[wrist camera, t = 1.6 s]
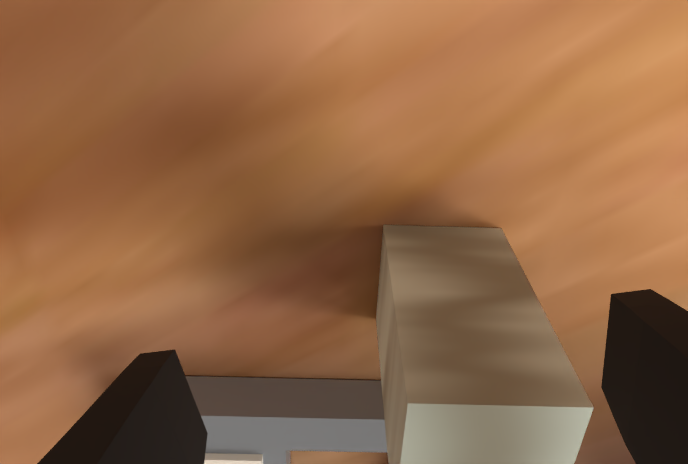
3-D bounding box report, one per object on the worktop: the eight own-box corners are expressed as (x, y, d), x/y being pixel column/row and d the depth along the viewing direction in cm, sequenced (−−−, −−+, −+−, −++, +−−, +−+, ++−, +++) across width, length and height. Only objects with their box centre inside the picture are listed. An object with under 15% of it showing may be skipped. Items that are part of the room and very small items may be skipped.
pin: (501, 228, 19) (593, 407, 12) (482, 322, 21) (553, 523, 14) (383, 224, 19) (407, 403, 12) (376, 319, 21) (392, 520, 14)
